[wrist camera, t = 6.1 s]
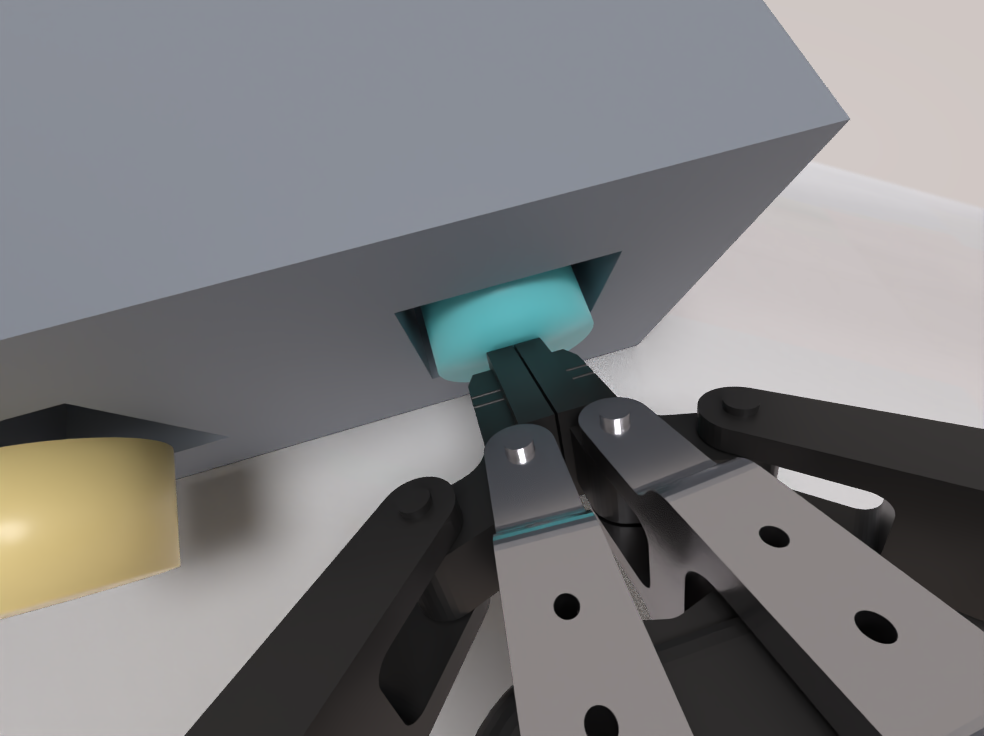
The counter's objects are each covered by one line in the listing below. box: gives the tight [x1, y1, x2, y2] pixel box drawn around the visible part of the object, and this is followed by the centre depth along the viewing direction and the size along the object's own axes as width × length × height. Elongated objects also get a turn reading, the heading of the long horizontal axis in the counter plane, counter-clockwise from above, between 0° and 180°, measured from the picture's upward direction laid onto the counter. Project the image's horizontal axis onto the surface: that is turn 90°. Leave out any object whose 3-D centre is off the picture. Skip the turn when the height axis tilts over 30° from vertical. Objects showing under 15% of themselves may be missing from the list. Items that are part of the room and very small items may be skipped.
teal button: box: [420, 265, 594, 382], centre depth 11 cm, size 3×4×4 cm
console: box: [0, 0, 850, 480], centre depth 12 cm, size 8×24×11 cm, turn 106°
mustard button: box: [0, 437, 180, 619], centre depth 10 cm, size 3×4×4 cm
